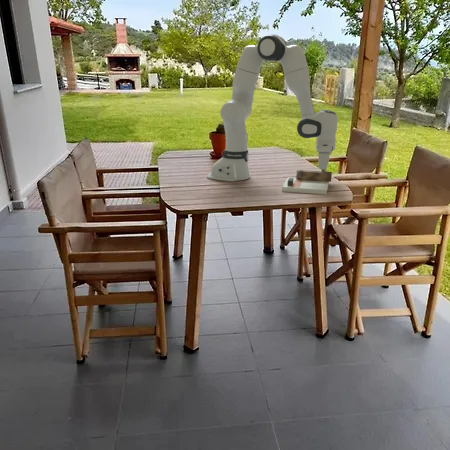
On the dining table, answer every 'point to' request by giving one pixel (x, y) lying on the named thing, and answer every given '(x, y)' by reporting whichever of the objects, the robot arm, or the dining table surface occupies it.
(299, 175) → the stool leg
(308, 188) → the board
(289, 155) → the dining table surface
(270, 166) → the dining table surface
